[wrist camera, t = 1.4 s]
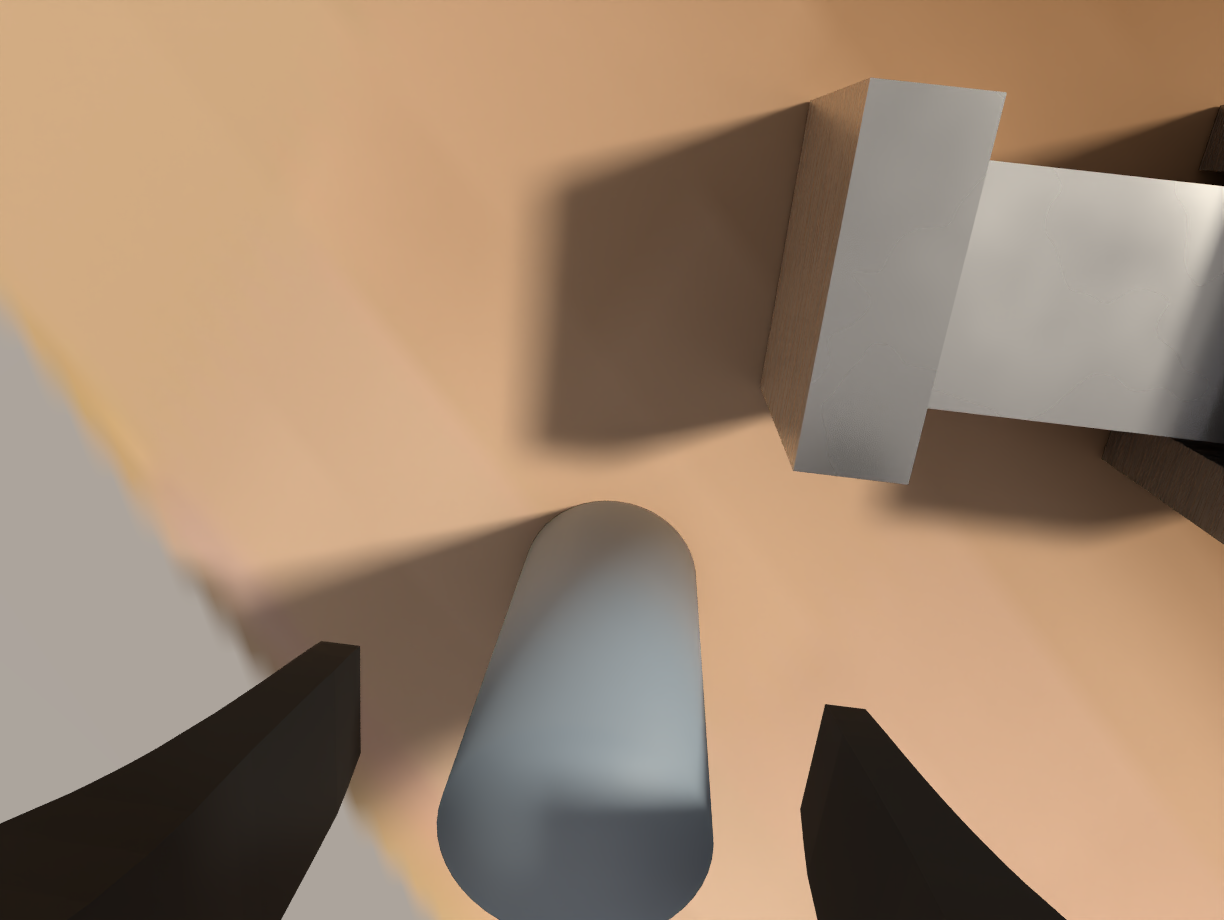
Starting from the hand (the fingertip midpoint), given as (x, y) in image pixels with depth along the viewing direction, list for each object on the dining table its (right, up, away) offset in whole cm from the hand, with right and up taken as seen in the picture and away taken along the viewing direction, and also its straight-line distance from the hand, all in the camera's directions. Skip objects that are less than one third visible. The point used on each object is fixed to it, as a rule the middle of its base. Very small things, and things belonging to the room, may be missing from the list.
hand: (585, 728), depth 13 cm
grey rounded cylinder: (0, +2, +5) cm, 5 cm away
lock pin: (+10, +7, +2) cm, 12 cm away
